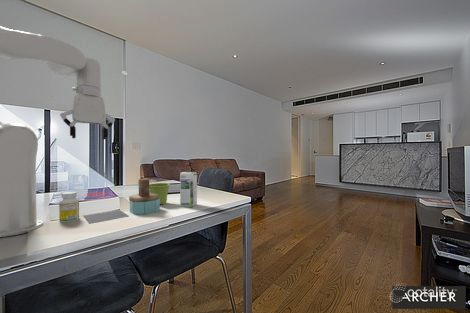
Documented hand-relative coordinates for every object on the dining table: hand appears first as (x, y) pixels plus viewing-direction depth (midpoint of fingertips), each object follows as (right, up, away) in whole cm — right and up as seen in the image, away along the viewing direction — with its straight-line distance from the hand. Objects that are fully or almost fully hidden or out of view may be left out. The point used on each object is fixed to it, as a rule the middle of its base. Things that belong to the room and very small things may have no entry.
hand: (89, 138), depth 83 cm
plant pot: (+21, -28, +17) cm, 39 cm away
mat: (+9, -28, -5) cm, 30 cm away
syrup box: (+35, -28, +13) cm, 46 cm away
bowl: (+20, -28, +2) cm, 35 cm away
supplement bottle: (-1, -29, -9) cm, 30 cm away
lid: (+19, -23, +3) cm, 30 cm away
